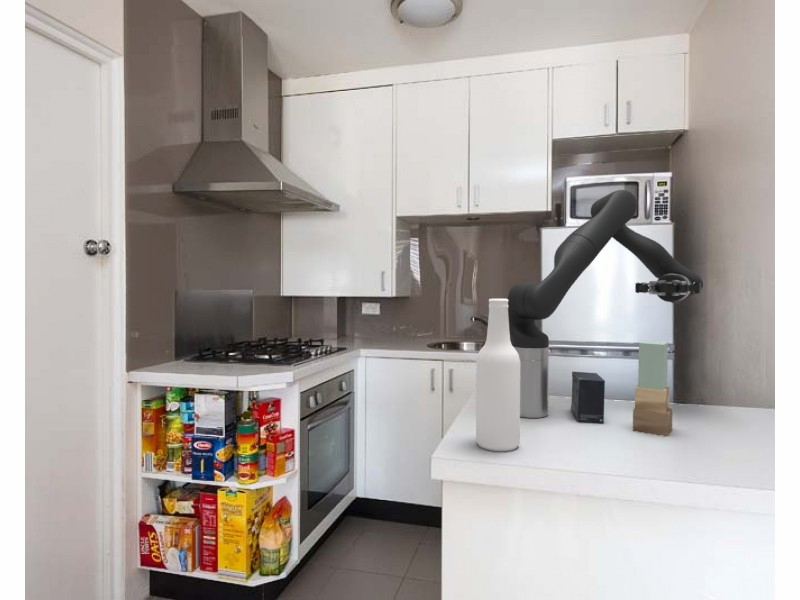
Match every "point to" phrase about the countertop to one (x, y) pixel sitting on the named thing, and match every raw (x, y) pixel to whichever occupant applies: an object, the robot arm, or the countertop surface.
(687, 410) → the countertop surface
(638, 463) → the countertop surface
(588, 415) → the small box
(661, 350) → the sage pillar
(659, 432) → the walnut block
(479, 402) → the alcohol
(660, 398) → the oak block
